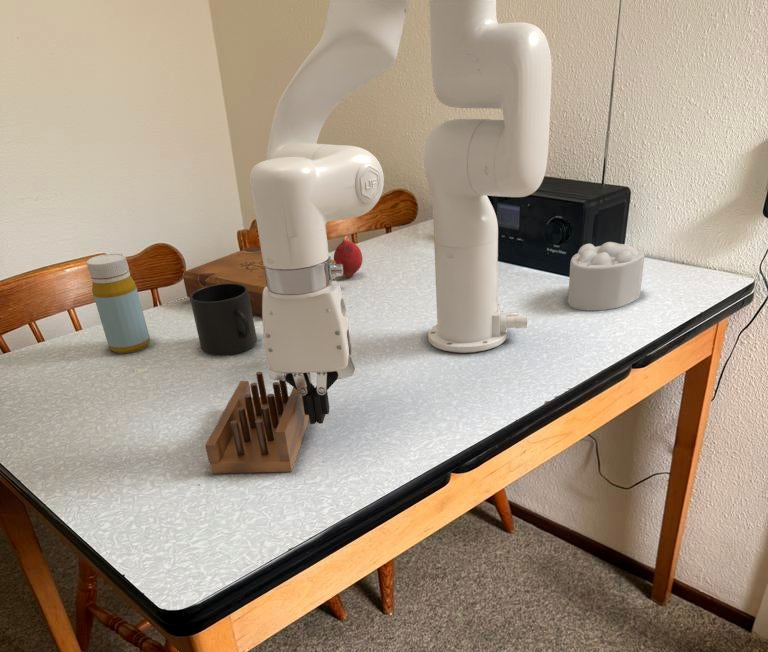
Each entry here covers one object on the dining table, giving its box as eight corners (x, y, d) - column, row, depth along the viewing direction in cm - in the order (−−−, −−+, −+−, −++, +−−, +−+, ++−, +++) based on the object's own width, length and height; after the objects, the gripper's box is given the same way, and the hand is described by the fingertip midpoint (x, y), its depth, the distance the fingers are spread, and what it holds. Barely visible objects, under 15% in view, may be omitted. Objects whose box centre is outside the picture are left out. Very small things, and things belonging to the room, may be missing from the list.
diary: (188, 301, 148) (181, 272, 145) (256, 274, 160) (251, 246, 157) (271, 320, 136) (266, 288, 133) (338, 288, 148) (335, 259, 144)
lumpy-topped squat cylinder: (648, 294, 132) (654, 243, 127) (602, 315, 125) (607, 263, 120) (598, 283, 138) (602, 234, 134) (552, 302, 132) (555, 252, 127)
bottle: (129, 356, 126) (103, 267, 118) (101, 350, 130) (74, 263, 121) (159, 341, 131) (136, 254, 123) (131, 336, 134) (108, 251, 126)
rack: (314, 404, 106) (308, 364, 103) (291, 471, 91) (284, 428, 88) (245, 407, 107) (237, 367, 104) (211, 473, 92) (201, 430, 89)
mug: (229, 365, 120) (217, 310, 115) (191, 347, 128) (178, 294, 123) (277, 346, 125) (268, 292, 120) (237, 330, 133) (227, 279, 128)
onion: (363, 280, 151) (359, 239, 146) (334, 282, 151) (330, 241, 146) (364, 271, 155) (360, 231, 151) (336, 273, 156) (332, 233, 151)
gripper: (366, 263, 89) (378, 404, 99) (243, 270, 91) (267, 407, 101) (359, 283, 83) (373, 431, 93) (227, 290, 84) (255, 434, 95)
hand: (318, 418), depth 97 cm, fingers closed
